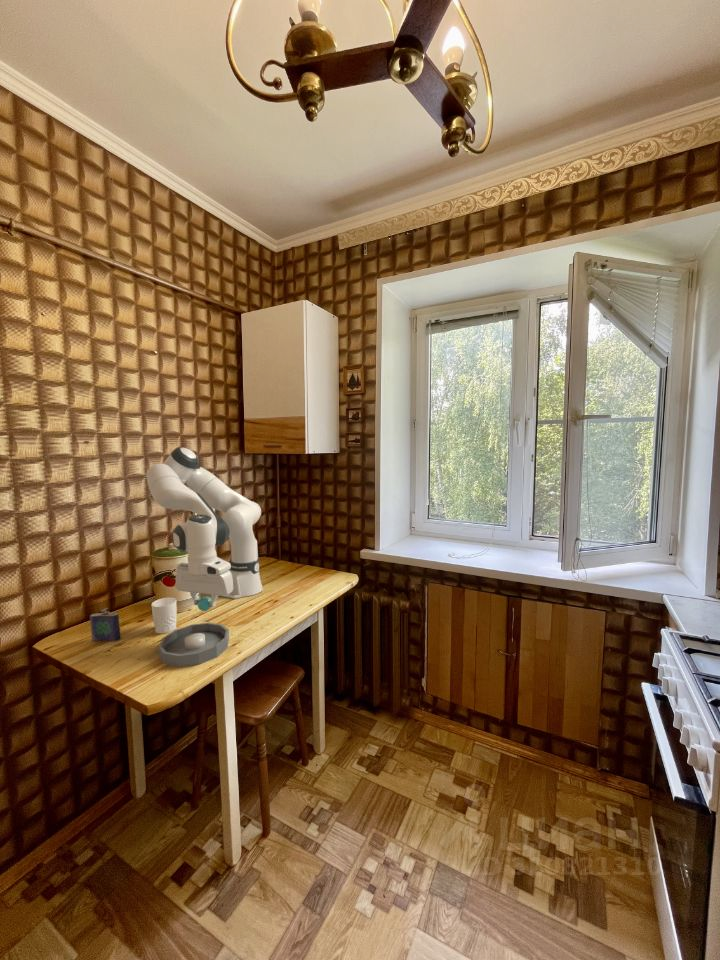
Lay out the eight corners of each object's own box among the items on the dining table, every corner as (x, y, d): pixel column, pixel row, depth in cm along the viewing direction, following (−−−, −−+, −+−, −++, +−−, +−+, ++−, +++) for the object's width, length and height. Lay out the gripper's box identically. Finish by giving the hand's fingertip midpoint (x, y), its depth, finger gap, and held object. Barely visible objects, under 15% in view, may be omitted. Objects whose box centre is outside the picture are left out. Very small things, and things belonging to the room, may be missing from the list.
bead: (195, 612, 125) (194, 599, 125) (204, 606, 129) (203, 594, 129) (206, 614, 124) (205, 600, 123) (215, 608, 128) (214, 595, 128)
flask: (90, 642, 127) (87, 611, 126) (96, 637, 130) (93, 607, 129) (117, 641, 127) (115, 610, 126) (123, 637, 130) (121, 606, 129)
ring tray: (144, 661, 115) (143, 650, 115) (191, 629, 134) (190, 620, 134) (200, 671, 110) (200, 659, 109) (240, 636, 129) (240, 626, 128)
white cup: (161, 623, 139) (159, 597, 138) (182, 624, 139) (180, 597, 138) (148, 634, 131) (146, 606, 130) (170, 635, 131) (168, 606, 130)
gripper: (169, 565, 125) (172, 605, 127) (223, 570, 119) (225, 612, 121) (183, 559, 131) (186, 598, 133) (235, 564, 125) (237, 604, 127)
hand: (205, 605), depth 127 cm, fingers closed on bead, 4 cm apart
